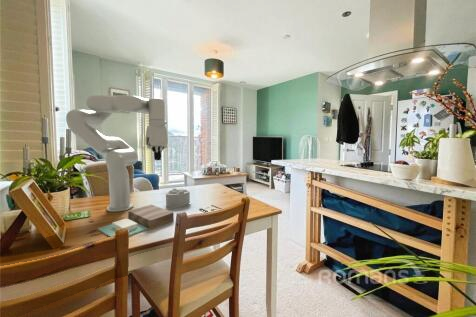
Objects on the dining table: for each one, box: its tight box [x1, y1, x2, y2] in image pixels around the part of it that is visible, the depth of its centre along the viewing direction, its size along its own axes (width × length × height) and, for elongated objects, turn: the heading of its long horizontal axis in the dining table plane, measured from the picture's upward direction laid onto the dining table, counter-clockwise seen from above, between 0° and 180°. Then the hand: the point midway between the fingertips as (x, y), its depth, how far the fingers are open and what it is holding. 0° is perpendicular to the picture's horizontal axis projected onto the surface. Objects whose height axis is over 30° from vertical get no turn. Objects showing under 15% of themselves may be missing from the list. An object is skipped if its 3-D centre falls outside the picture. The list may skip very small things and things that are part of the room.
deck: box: [127, 204, 175, 230], centre depth 101 cm, size 18×12×4 cm, turn 54°
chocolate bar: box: [198, 204, 222, 213], centre depth 114 cm, size 9×1×18 cm
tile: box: [111, 218, 138, 231], centre depth 92 cm, size 9×6×2 cm, turn 54°
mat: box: [97, 219, 149, 237], centre depth 91 cm, size 16×13×1 cm
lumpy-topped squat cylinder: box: [165, 187, 191, 208], centre depth 125 cm, size 10×13×9 cm
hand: (157, 159), depth 110 cm, fingers closed
